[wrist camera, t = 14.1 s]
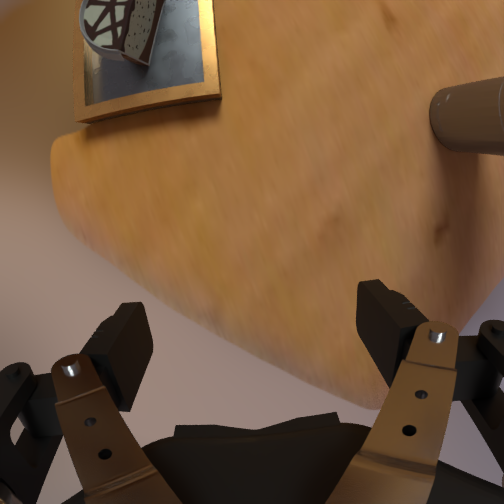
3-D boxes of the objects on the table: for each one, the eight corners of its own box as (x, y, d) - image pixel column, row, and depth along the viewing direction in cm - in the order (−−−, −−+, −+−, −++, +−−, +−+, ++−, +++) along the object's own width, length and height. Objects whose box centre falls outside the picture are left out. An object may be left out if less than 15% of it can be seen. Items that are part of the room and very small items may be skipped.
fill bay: (210, -39, 28) (207, -54, 25) (221, 99, 35) (219, 93, 31) (89, -11, 28) (78, -21, 25) (89, 123, 35) (75, 121, 31)
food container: (123, -7, 28) (94, -42, 19) (168, -9, 29) (149, -49, 19) (100, 77, 32) (60, 59, 22) (147, 77, 32) (116, 55, 23)
